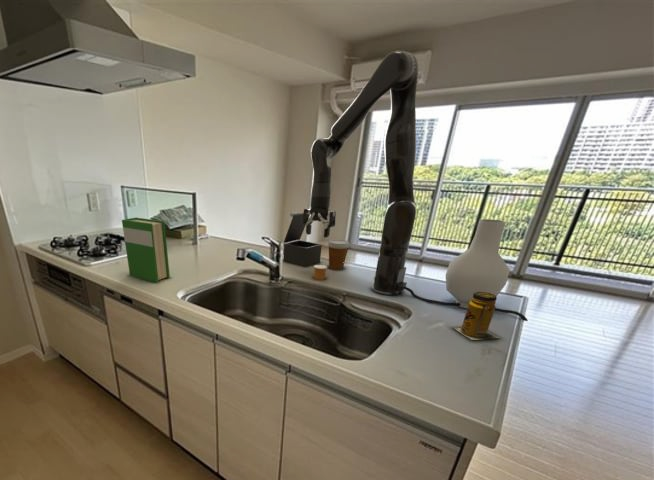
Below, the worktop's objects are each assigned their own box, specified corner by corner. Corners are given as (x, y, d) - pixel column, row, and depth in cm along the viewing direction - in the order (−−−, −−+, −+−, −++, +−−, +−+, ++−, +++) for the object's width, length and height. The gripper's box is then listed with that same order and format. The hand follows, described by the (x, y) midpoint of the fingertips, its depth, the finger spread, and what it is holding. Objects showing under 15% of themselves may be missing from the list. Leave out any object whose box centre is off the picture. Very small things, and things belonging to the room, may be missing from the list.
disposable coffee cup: (321, 266, 158) (323, 240, 153) (337, 263, 162) (340, 238, 156) (334, 271, 150) (338, 245, 145) (351, 268, 154) (354, 242, 149)
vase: (498, 319, 105) (531, 227, 93) (437, 308, 112) (461, 223, 100) (493, 301, 117) (522, 219, 105) (439, 293, 125) (460, 215, 113)
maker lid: (310, 212, 160) (303, 207, 162) (294, 215, 153) (287, 210, 156) (300, 239, 169) (292, 234, 172) (284, 243, 163) (277, 237, 165)
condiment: (453, 328, 99) (464, 290, 94) (480, 327, 100) (492, 289, 95) (471, 340, 93) (484, 300, 88) (500, 338, 93) (515, 298, 88)
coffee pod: (328, 278, 142) (329, 266, 140) (320, 281, 139) (322, 269, 137) (318, 275, 146) (319, 264, 144) (310, 277, 143) (311, 266, 141)
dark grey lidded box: (320, 262, 164) (321, 244, 160) (305, 267, 157) (306, 248, 154) (298, 256, 173) (299, 239, 170) (283, 261, 167) (284, 243, 163)
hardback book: (169, 278, 146) (164, 221, 135) (156, 282, 140) (150, 223, 130) (142, 271, 155) (135, 217, 145) (129, 275, 150) (121, 219, 140)
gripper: (300, 194, 137) (297, 234, 144) (331, 196, 127) (326, 239, 134) (311, 193, 141) (308, 232, 148) (341, 195, 132) (337, 236, 139)
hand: (317, 235), depth 141 cm, fingers open, 8 cm apart
